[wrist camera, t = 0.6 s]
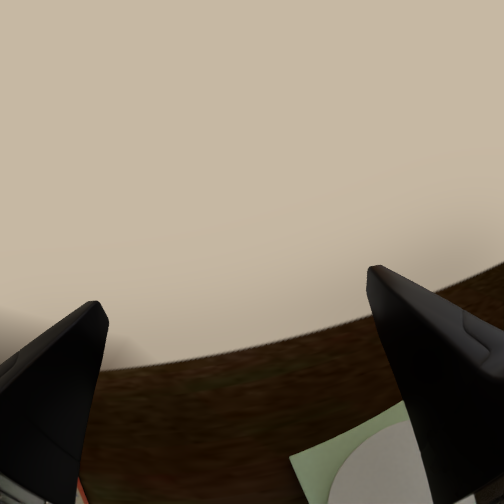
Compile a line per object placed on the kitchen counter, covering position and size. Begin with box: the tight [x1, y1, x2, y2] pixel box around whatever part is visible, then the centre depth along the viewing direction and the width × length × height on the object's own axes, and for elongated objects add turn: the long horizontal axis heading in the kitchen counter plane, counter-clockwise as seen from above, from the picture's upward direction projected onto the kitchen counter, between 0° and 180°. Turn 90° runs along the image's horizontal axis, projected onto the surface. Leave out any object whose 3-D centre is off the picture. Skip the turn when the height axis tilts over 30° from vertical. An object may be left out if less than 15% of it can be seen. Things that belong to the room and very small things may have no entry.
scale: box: [289, 401, 476, 504], centre depth 13 cm, size 14×14×3 cm
